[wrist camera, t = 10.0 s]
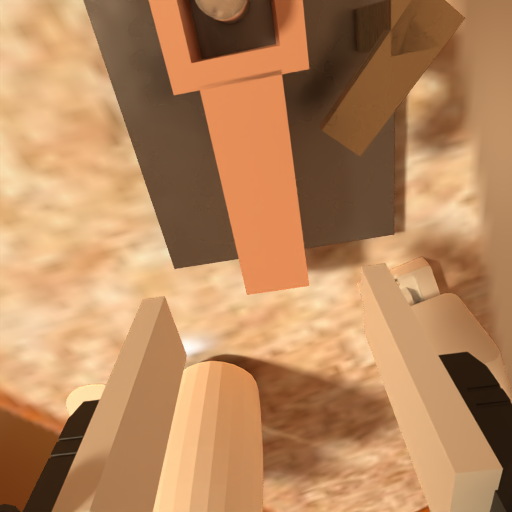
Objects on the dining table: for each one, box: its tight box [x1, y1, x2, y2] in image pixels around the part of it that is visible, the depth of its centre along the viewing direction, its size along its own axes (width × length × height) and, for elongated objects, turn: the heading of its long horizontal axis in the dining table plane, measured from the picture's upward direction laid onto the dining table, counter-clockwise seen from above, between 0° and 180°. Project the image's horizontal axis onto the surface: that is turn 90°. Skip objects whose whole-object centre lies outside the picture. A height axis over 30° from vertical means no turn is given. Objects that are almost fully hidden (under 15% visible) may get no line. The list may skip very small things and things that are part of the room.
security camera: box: [357, 257, 512, 403], centre depth 27 cm, size 6×7×10 cm
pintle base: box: [84, 0, 465, 269], centre depth 20 cm, size 19×17×8 cm
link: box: [149, 0, 309, 295], centre depth 21 cm, size 19×7×4 cm, turn 10°
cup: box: [153, 361, 263, 512], centre depth 30 cm, size 8×8×14 cm
